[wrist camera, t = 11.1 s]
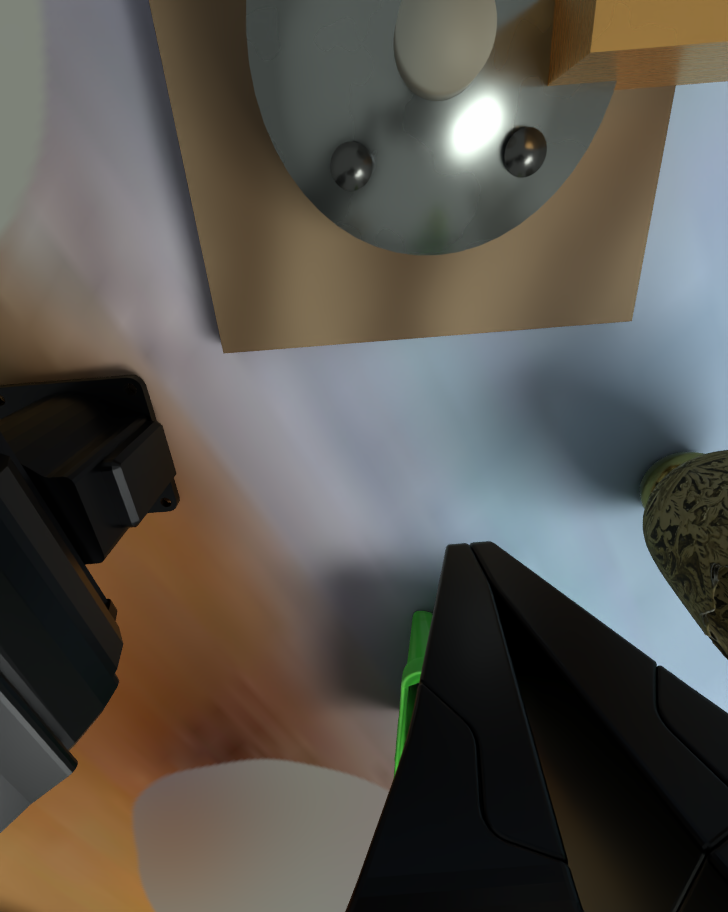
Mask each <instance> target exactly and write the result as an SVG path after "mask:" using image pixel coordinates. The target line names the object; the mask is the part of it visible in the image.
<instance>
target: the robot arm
mask: <svg viewBox="0 0 728 912" xmlns="http://www.w3.org/2000/svg"><path fill="white" fill-rule="evenodd" d="M128 384H133V385H134V386H135V387H136V389H137V392H132V391H131V390H130V389H129V387H128ZM0 395H1V396H3V398H4V399H5V402H4V401H2V400H1V399H0V833H1V832H2V831H3V830H4V829H5V828H6V827H7V826H8V825H9V824H10V823H11V822H12V821H13V820H15V819H16V818H17V817H18V816H19V815H20V814H21V813H22V812H23V811H24V810H25V809H26V808H27V807H28V806H29V805H30V804H32V803H33V802H34V801H36V800H37V799H38V798H40V797H41V796H42V795H44V794H45V793H46V792H48V791H49V790H50V789H52V788H53V787H54V786H56V785H57V784H58V783H60V782H61V781H62V780H64V779H65V778H66V777H68V776H69V775H70V774H72V773H73V771H74V770H75V769H76V767H77V765H78V761H77V760H76V759H75V758H74V757H73V755H72V754H71V753H70V752H69V750H70V749H71V748H72V747H73V746H74V745H75V744H76V743H77V742H78V741H79V739H80V738H81V737H82V736H83V735H84V733H85V732H86V731H87V730H88V729H89V727H90V726H91V725H92V724H93V723H94V721H95V720H96V719H97V718H98V716H99V715H100V714H101V713H102V711H103V710H104V708H105V706H106V705H107V703H108V701H109V700H110V698H111V696H112V695H113V693H114V691H115V690H116V688H117V686H118V683H119V679H118V677H117V676H116V674H115V672H116V670H117V667H118V663H119V659H120V655H121V651H122V647H123V641H122V637H121V633H120V629H119V626H118V625H117V623H116V622H115V621H116V616H117V609H116V607H115V606H114V604H113V603H112V601H111V600H110V599H106V597H105V596H104V594H103V593H102V591H101V590H100V588H99V586H98V585H97V583H96V582H95V580H94V579H93V577H92V575H91V574H90V572H89V571H88V569H87V567H86V566H85V565H86V564H95V563H101V562H103V561H104V559H105V558H106V557H107V555H108V554H109V553H110V552H111V550H112V549H113V548H114V546H115V545H116V544H117V542H118V541H119V540H120V539H121V537H122V536H123V535H124V533H125V532H126V531H127V530H128V528H130V527H136V526H138V525H139V523H140V522H141V521H142V519H143V518H144V517H145V515H146V514H147V513H154V512H167V511H172V510H174V509H175V508H176V506H177V505H178V503H179V501H180V497H179V494H178V490H177V487H176V484H175V480H174V476H175V475H176V470H175V467H174V463H173V460H172V457H171V453H170V450H169V446H168V443H167V440H166V436H165V433H164V429H163V426H162V425H161V424H160V423H159V422H158V421H157V420H156V417H155V413H154V410H153V407H152V403H151V400H150V396H149V393H148V390H147V386H146V384H145V382H144V381H143V380H142V379H141V378H140V377H138V376H136V375H124V376H111V377H99V378H86V379H73V380H61V381H48V382H35V383H23V384H10V385H0ZM164 498H168V499H170V500H171V503H170V502H167V501H165V500H164ZM345 912H728V713H727V712H725V711H724V710H722V709H721V708H720V707H718V706H717V705H715V704H714V703H713V702H711V701H710V700H708V699H707V698H705V697H704V696H703V695H701V694H700V693H698V692H697V691H696V690H694V689H693V688H691V687H690V686H688V685H687V684H686V683H684V682H683V681H682V680H680V679H679V678H677V677H676V676H675V675H673V674H672V673H671V672H669V671H668V670H667V669H665V668H664V667H662V666H657V664H656V662H655V661H654V660H653V659H651V658H650V657H649V656H647V655H646V654H644V653H643V652H642V651H640V650H639V649H638V648H636V647H635V646H634V645H632V644H631V643H629V642H628V641H627V640H625V639H624V638H623V637H621V636H620V635H619V634H617V633H616V632H615V631H613V630H612V629H610V628H609V627H608V626H606V625H605V624H604V623H602V622H601V621H600V620H598V619H597V618H595V617H594V616H593V615H591V614H590V613H589V612H587V611H586V610H585V609H583V608H582V607H580V606H579V605H578V604H576V603H575V602H574V601H572V600H571V599H570V598H568V597H567V596H565V595H564V594H563V593H561V592H560V591H559V590H557V589H556V588H555V587H553V586H552V585H551V584H549V583H548V582H546V581H545V580H544V579H542V578H541V577H540V576H538V575H537V574H536V573H534V572H533V571H531V570H530V569H529V568H527V567H526V566H525V565H523V564H522V563H521V562H519V561H518V560H516V559H515V558H514V557H512V556H511V555H510V554H508V553H507V552H506V551H504V550H503V549H501V548H500V547H499V546H497V545H496V544H495V543H493V542H491V541H486V542H473V543H471V544H470V545H468V544H466V543H461V544H449V545H447V547H446V550H445V555H444V560H443V565H442V570H441V575H440V580H439V585H438V590H437V595H436V600H435V605H434V611H433V616H432V621H431V626H430V631H429V636H428V641H427V646H426V651H425V656H424V661H423V666H422V671H421V676H420V681H419V686H418V689H417V694H416V699H415V704H414V709H413V713H412V717H411V722H410V726H409V730H408V734H407V738H406V742H405V745H404V748H403V751H402V754H401V757H400V761H399V764H398V767H397V770H396V773H395V776H394V780H393V782H392V785H391V788H390V791H389V794H388V796H387V799H386V802H385V805H384V808H383V810H382V814H381V816H380V819H379V822H378V825H377V827H376V830H375V833H374V836H373V838H372V841H371V844H370V847H369V850H368V852H367V855H366V858H365V861H364V864H363V867H362V869H361V872H360V875H359V878H358V881H357V883H356V886H355V888H354V891H353V894H352V896H351V899H350V901H349V904H348V906H347V909H346V911H345Z"/></svg>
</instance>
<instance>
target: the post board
mask: <svg viewBox="0 0 728 912" xmlns="http://www.w3.org/2000/svg"><path fill="white" fill-rule="evenodd" d="M149 4H150V9H151V13H152V18H153V23H154V27H155V32H156V37H157V42H158V46H159V51H160V56H161V60H162V65H163V70H164V75H165V79H166V84H167V89H168V94H169V98H170V103H171V108H172V112H173V117H174V122H175V127H176V131H177V136H178V141H179V145H180V150H181V155H182V160H183V164H184V169H185V174H186V178H187V183H188V188H189V193H190V197H191V202H192V207H193V212H194V216H195V221H196V226H197V230H198V235H199V240H200V245H201V249H202V254H203V259H204V263H205V268H206V273H207V278H208V282H209V287H210V292H211V296H212V301H213V306H214V311H215V315H216V320H217V325H218V330H219V334H220V339H221V344H222V348H223V353H235V352H247V351H260V350H273V349H285V348H298V347H311V346H323V345H336V344H349V343H361V342H374V341H386V340H399V339H412V338H424V337H437V336H450V335H462V334H475V333H487V332H500V331H513V330H525V329H538V328H551V327H563V326H576V325H589V324H601V323H614V322H626V321H632V317H633V312H634V306H635V301H636V295H637V290H638V285H639V279H640V274H641V269H642V263H643V258H644V253H645V247H646V242H647V237H648V231H649V226H650V220H651V215H652V210H653V204H654V199H655V194H656V188H657V183H658V178H659V172H660V167H661V162H662V156H663V151H664V145H665V140H666V135H667V129H668V124H669V119H670V113H671V108H672V103H673V97H674V92H675V87H676V85H673V86H661V87H649V88H636V89H624V90H614V92H613V95H612V97H611V100H610V102H609V105H608V107H607V110H606V112H605V115H604V117H603V120H602V122H601V124H600V126H599V128H598V130H597V132H596V134H595V136H594V138H593V140H592V142H591V144H590V145H589V147H588V149H587V151H586V152H585V154H584V155H583V157H582V158H581V160H580V161H579V163H578V164H577V166H576V167H575V169H574V171H573V172H572V173H571V174H570V176H569V177H568V178H567V179H566V181H565V182H564V183H563V184H562V186H561V187H560V188H559V189H558V190H557V192H556V193H555V194H554V195H553V196H552V197H551V198H550V199H549V200H548V201H547V202H546V203H545V204H544V205H543V206H542V207H541V208H540V209H539V210H537V211H536V212H535V213H534V214H532V215H531V216H530V217H529V218H527V219H526V220H525V221H523V222H522V223H521V224H520V225H518V226H516V227H515V228H513V229H512V230H510V231H508V232H507V233H505V234H503V235H502V236H500V237H498V238H496V239H494V240H491V241H489V242H487V243H485V244H482V245H480V246H477V247H474V248H471V249H467V250H464V251H460V252H456V253H449V254H443V255H410V254H403V253H396V252H392V251H389V250H385V249H382V248H379V247H375V246H373V245H370V244H368V243H366V242H364V241H362V240H359V239H357V238H355V237H354V236H352V235H351V234H349V233H347V232H346V231H344V230H343V229H341V228H339V227H338V226H337V225H336V224H334V223H333V222H332V221H331V220H330V219H328V218H327V217H326V216H325V215H324V214H322V213H321V212H320V211H319V210H318V209H317V208H316V206H315V205H314V204H313V203H312V202H311V201H310V200H309V199H308V198H307V197H306V196H305V195H304V193H303V192H302V191H301V189H300V188H299V187H298V185H297V184H296V183H295V181H294V180H293V178H292V177H291V176H290V174H289V173H288V171H287V169H286V168H285V166H284V164H283V162H282V161H281V159H280V157H279V155H278V153H277V152H276V150H275V148H274V145H273V143H272V141H271V138H270V136H269V134H268V131H267V129H266V127H265V124H264V122H263V118H262V115H261V112H260V108H259V105H258V102H257V99H256V95H255V91H254V86H253V81H252V76H251V70H250V65H249V57H248V46H247V36H246V0H149ZM496 29H497V11H496V4H495V0H402V1H401V4H400V8H399V12H398V17H397V22H396V26H395V31H394V46H393V47H394V57H395V62H396V65H397V69H398V71H399V74H400V76H401V78H402V79H403V81H404V83H405V84H406V85H407V87H408V88H409V89H410V90H411V91H412V92H414V93H415V94H416V95H418V96H419V97H421V98H423V99H426V100H430V101H444V100H448V99H451V98H453V97H455V96H457V95H458V94H460V93H461V92H463V91H464V90H465V89H466V88H467V87H468V86H469V85H470V83H471V82H472V81H473V80H474V78H475V77H476V76H477V75H478V73H479V72H480V71H481V69H482V68H483V66H484V65H485V63H486V61H487V59H488V58H489V55H490V53H491V50H492V48H493V44H494V41H495V36H496Z"/></svg>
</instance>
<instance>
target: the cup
mask: <svg viewBox="0 0 728 912" xmlns="http://www.w3.org/2000/svg"><path fill="white" fill-rule="evenodd" d="M639 493H640V499H641V502H642V505H643V507H644V509H645V510H644V515H643V533H644V538H645V542H646V545H647V548H648V550H649V552H650V554H651V556H652V558H653V560H654V562H655V564H656V565H657V567H658V569H659V570H660V572H661V573H662V575H663V576H664V578H665V579H666V581H667V582H668V584H669V585H670V586H671V588H672V589H673V591H674V592H675V593H676V595H677V596H678V598H679V599H680V600H681V602H682V603H683V605H684V606H685V607H686V609H687V610H688V611H689V613H690V614H691V616H692V617H693V618H694V620H695V621H696V622H697V624H698V625H699V626H700V628H701V629H702V631H703V632H704V634H705V635H707V636H708V637H709V638H710V639H711V640H712V642H713V644H714V645H715V646H716V647H717V648H718V649H719V650H720V652H721V653H722V654H723V655H724V656H725V657H726V658H727V659H728V450H724V451H717V452H712V453H708V454H704V453H698V452H678V453H673V454H670V455H668V456H665V457H663V458H662V459H660V460H658V461H657V462H656V463H654V464H653V465H652V466H651V467H650V468H649V469H648V470H647V472H646V473H645V475H644V476H643V478H642V481H641V484H640V489H639Z"/></svg>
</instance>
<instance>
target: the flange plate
mask: <svg viewBox="0 0 728 912" xmlns="http://www.w3.org/2000/svg"><path fill="white" fill-rule="evenodd" d="M401 1H402V0H246V36H247V46H248V57H249V65H250V70H251V76H252V81H253V86H254V91H255V95H256V99H257V102H258V105H259V108H260V112H261V115H262V118H263V122H264V124H265V127H266V129H267V131H268V134H269V136H270V138H271V141H272V143H273V145H274V148H275V150H276V152H277V153H278V155H279V157H280V159H281V161H282V162H283V164H284V166H285V168H286V169H287V171H288V173H289V174H290V176H291V177H292V178H293V180H294V181H295V183H296V184H297V185H298V187H299V188H300V189H301V191H302V192H303V193H304V195H305V196H306V197H307V198H308V199H309V200H310V201H311V202H312V203H313V204H314V205H315V206H316V208H317V209H318V210H319V211H320V212H321V213H322V214H324V215H325V216H326V217H327V218H328V219H330V220H331V221H332V222H333V223H334V224H336V225H337V226H338V227H339V228H341V229H343V230H344V231H346V232H347V233H349V234H351V235H352V236H354V237H355V238H357V239H359V240H362V241H364V242H366V243H368V244H370V245H373V246H375V247H379V248H382V249H385V250H389V251H392V252H396V253H403V254H410V255H443V254H449V253H456V252H460V251H464V250H467V249H471V248H474V247H477V246H480V245H482V244H485V243H487V242H489V241H491V240H494V239H496V238H498V237H500V236H502V235H503V234H505V233H507V232H508V231H510V230H512V229H513V228H515V227H516V226H518V225H520V224H521V223H522V222H523V221H525V220H526V219H527V218H529V217H530V216H531V215H532V214H534V213H535V212H536V211H537V210H539V209H540V208H541V207H542V206H543V205H544V204H545V203H546V202H547V201H548V200H549V199H550V198H551V197H552V196H553V195H554V194H555V193H556V192H557V190H558V189H559V188H560V187H561V186H562V184H563V183H564V182H565V181H566V179H567V178H568V177H569V176H570V174H571V173H572V172H573V171H574V169H575V167H576V166H577V164H578V163H579V161H580V160H581V158H582V157H583V155H584V154H585V152H586V151H587V149H588V147H589V145H590V144H591V142H592V140H593V138H594V136H595V134H596V132H597V130H598V128H599V126H600V124H601V122H602V120H603V117H604V115H605V112H606V110H607V107H608V105H609V102H610V100H611V97H612V95H613V92H614V90H624V89H636V88H649V87H661V86H673V85H685V84H698V83H710V82H722V81H728V0H495V4H496V11H497V29H496V36H495V41H494V44H493V48H492V50H491V53H490V55H489V58H488V59H487V61H486V63H485V65H484V66H483V68H482V69H481V71H480V72H479V73H478V75H477V76H476V77H475V78H474V80H473V81H472V82H471V83H470V85H469V86H468V87H467V88H466V89H465V90H464V91H463V92H461V93H460V94H458V95H457V96H455V97H453V98H451V99H448V100H444V101H430V100H426V99H423V98H421V97H419V96H418V95H416V94H415V93H414V92H412V91H411V90H410V89H409V88H408V87H407V85H406V84H405V83H404V81H403V79H402V78H401V76H400V74H399V71H398V69H397V65H396V62H395V57H394V47H393V46H394V31H395V26H396V22H397V17H398V12H399V8H400V4H401Z"/></svg>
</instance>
